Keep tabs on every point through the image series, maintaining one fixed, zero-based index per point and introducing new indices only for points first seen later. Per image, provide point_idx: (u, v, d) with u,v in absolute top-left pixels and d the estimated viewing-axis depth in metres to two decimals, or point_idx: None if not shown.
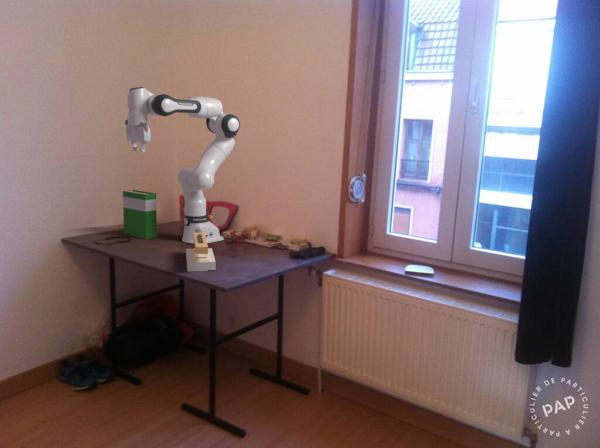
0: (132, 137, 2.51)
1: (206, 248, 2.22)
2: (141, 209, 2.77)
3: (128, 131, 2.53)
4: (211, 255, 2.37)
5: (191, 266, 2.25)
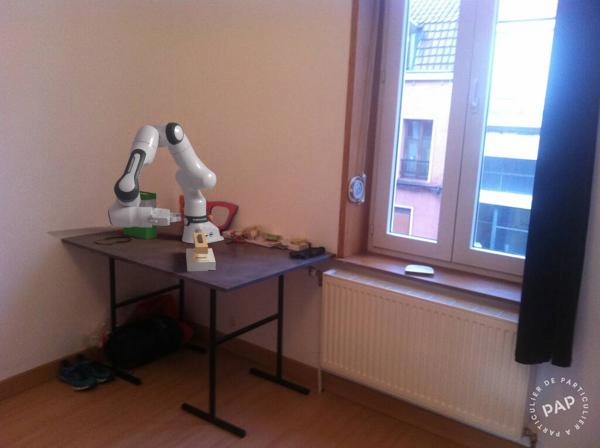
0: None
1: (206, 248, 2.22)
2: None
3: None
4: (211, 255, 2.37)
5: (191, 266, 2.25)
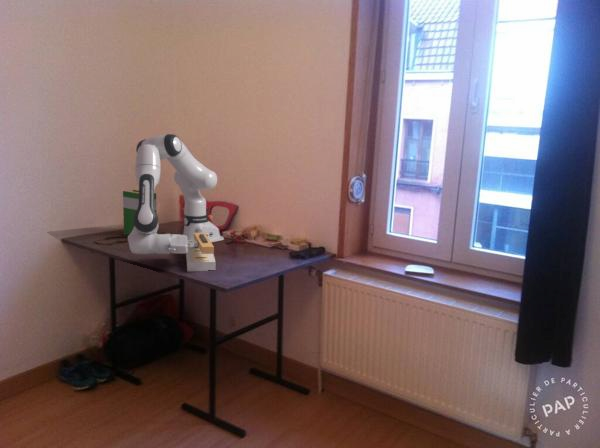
0: None
1: (212, 248, 2.23)
2: None
3: None
4: (211, 255, 2.37)
5: (191, 266, 2.25)
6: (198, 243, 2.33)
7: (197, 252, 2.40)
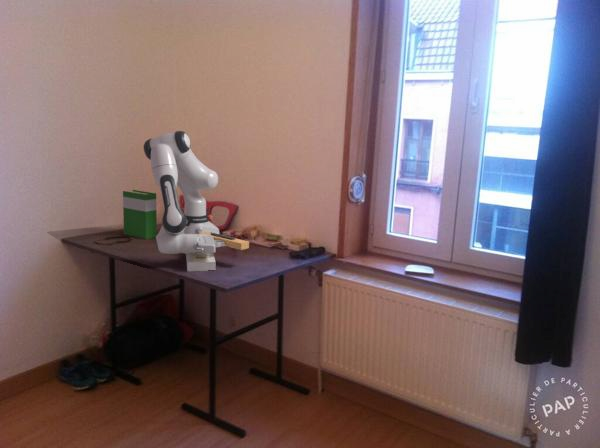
0: None
1: (248, 243, 2.34)
2: (141, 209, 2.77)
3: None
4: (211, 255, 2.37)
5: (191, 266, 2.25)
6: None
7: (197, 252, 2.40)
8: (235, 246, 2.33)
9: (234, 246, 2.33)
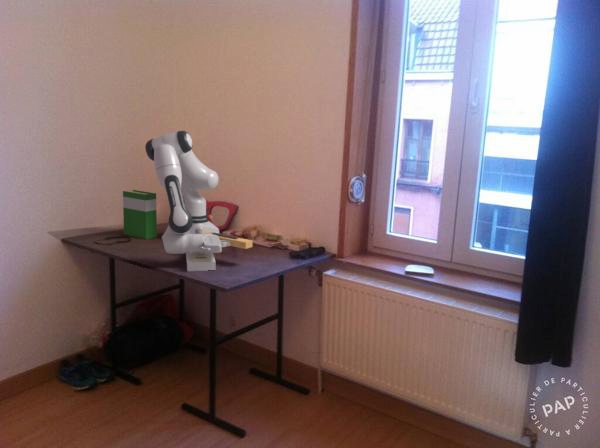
0: None
1: (251, 242, 2.37)
2: (141, 209, 2.77)
3: None
4: (211, 255, 2.37)
5: (191, 266, 2.25)
6: None
7: None
8: (239, 245, 2.35)
9: (238, 245, 2.35)
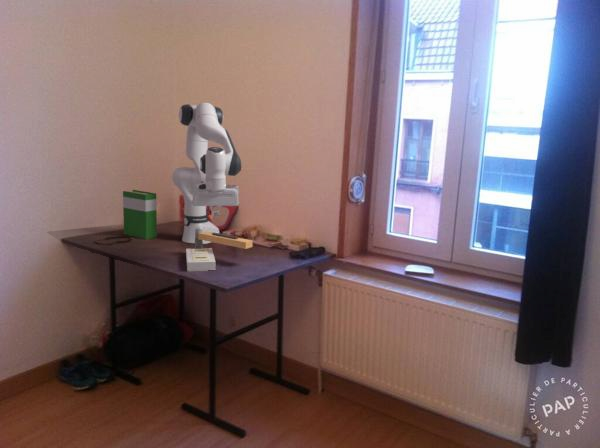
0: (207, 202, 2.28)
1: (251, 242, 2.37)
2: (141, 209, 2.77)
3: (198, 196, 2.27)
4: (211, 255, 2.37)
5: (191, 266, 2.25)
6: (225, 241, 2.39)
7: (197, 252, 2.40)
8: (239, 245, 2.35)
9: (238, 245, 2.35)
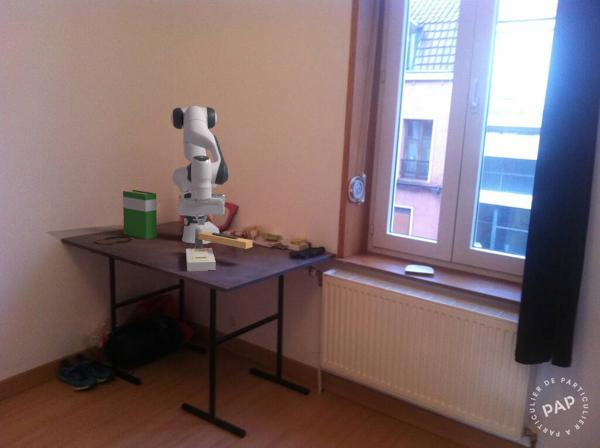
0: (193, 211, 2.25)
1: (251, 242, 2.37)
2: (141, 209, 2.77)
3: (183, 205, 2.23)
4: (211, 255, 2.37)
5: (191, 266, 2.25)
6: (225, 241, 2.39)
7: (197, 252, 2.40)
8: (239, 245, 2.35)
9: (238, 245, 2.35)
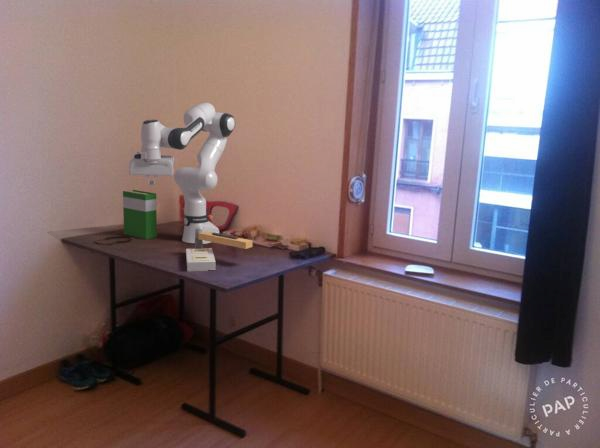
0: (143, 171, 2.42)
1: (251, 242, 2.37)
2: (141, 209, 2.77)
3: (134, 165, 2.40)
4: (211, 255, 2.37)
5: (191, 266, 2.25)
6: (225, 241, 2.39)
7: (197, 252, 2.40)
8: (239, 245, 2.35)
9: (238, 245, 2.35)
